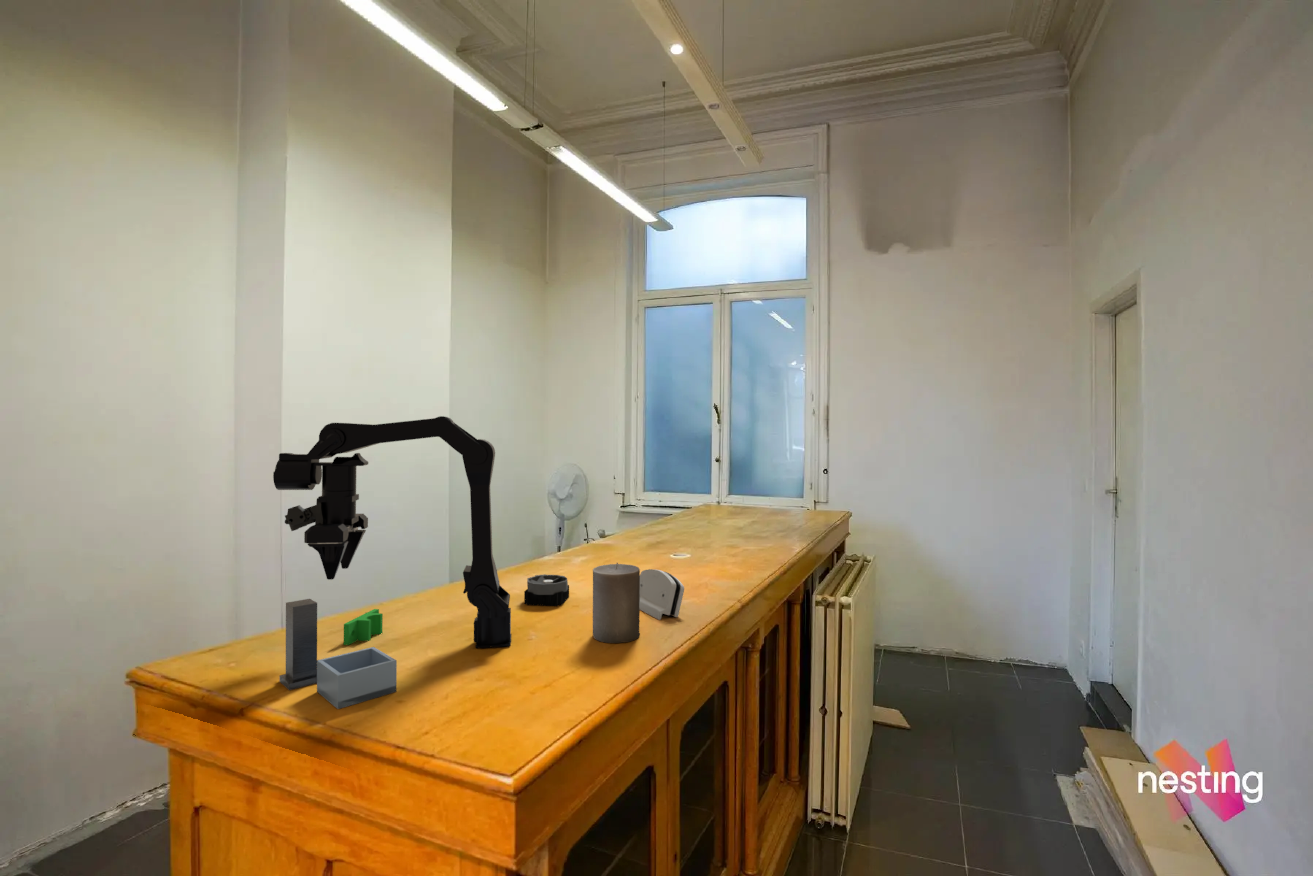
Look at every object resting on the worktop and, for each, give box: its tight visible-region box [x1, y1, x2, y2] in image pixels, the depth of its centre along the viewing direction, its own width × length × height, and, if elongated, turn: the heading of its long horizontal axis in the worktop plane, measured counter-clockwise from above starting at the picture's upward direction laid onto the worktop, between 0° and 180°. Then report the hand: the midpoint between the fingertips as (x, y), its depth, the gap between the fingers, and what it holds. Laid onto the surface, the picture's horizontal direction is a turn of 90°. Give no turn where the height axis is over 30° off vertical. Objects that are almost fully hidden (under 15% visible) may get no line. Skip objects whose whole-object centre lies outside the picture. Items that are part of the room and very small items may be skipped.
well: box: [316, 646, 398, 710], centre depth 100 cm, size 9×9×5 cm
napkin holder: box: [639, 568, 685, 621], centre depth 148 cm, size 17×5×10 cm, turn 29°
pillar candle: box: [592, 562, 641, 644], centre depth 128 cm, size 10×10×15 cm
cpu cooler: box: [523, 573, 570, 607], centre depth 154 cm, size 10×6×10 cm
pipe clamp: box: [343, 608, 384, 646], centre depth 126 cm, size 10×4×4 cm, turn 173°
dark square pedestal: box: [278, 598, 318, 691], centre depth 103 cm, size 5×5×13 cm
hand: (338, 573), depth 117 cm, fingers open, 9 cm apart
